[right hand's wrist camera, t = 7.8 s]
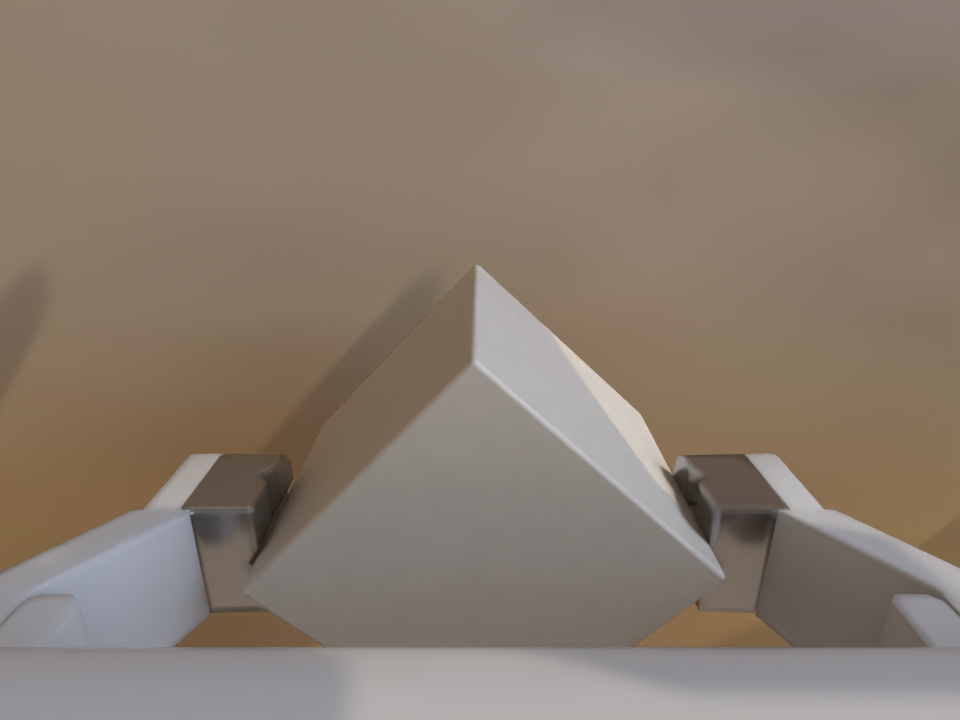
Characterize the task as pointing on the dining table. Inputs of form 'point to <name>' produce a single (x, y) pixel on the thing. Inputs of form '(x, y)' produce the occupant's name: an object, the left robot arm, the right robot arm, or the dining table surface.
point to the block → (483, 500)
